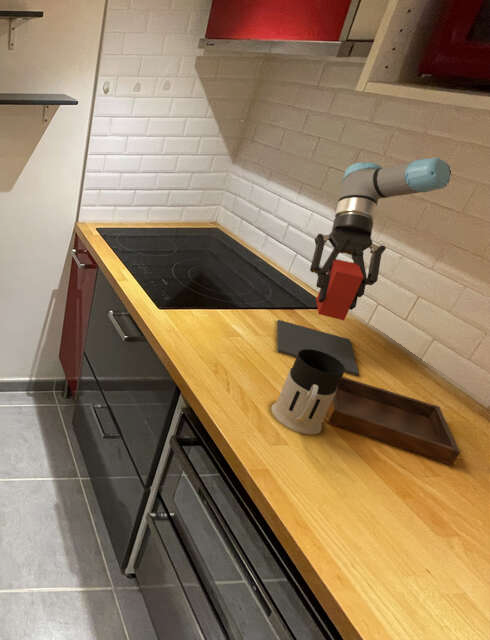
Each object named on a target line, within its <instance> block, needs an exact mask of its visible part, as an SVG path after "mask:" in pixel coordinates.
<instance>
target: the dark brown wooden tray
mask: <svg viewBox="0 0 490 640" xmlns="http://www.w3.org/2000/svg"><path fill="white" fill-rule="evenodd" d="M326 419H327V423H328V424H331V425H334V426H337V427H340V428H341V429H342V428H343V429H345V430H348V431H351V432H353V433H357V434H359V435H362V436H365V437H368V438H371V439H374V440H377V441H379V442H382V443H385V444H388V445H391V446H393V447H397V448H399V449H402V450H405V451H408V452H410V453H413V454H416V455H419V456H422V457H425V458H428V459H430V460H434V461H436V462H439V463H442V464H444V465H447V466H450V467H452V465H453V464H454V463H455V461H456V459H457V458H458V457H459V455H460V454H461V451H460V448H459V446H458V444H457V442H456V440H455V437H454V436H453V433H452V431H451V429H450V427H449V424H448V422H447V420H446V418H445V416H444V414H443V411H442V409H441V407H440V406H439V405H435V404H433V403H429V402H426V401H422V400H420V399H416V398H413V397H410V396H407V395H403V394H401V393H397V392H393V391H391V390H387V389H385V388H384V389H383V388H380V387H377V386H375V385H371V384H367V383H364V382H361V381H357V380H354V379H351V378H348V377H344V376H342V378H341V380H340V382H339V384H338V389H337V391H336V393H335V396H334V398H333V400H332V402H331V404H330V406H329V408H328V410H327V412H326Z"/></svg>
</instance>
